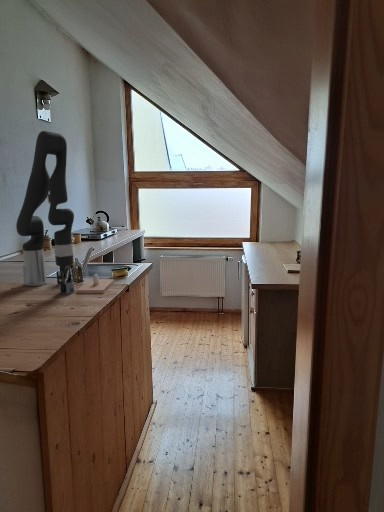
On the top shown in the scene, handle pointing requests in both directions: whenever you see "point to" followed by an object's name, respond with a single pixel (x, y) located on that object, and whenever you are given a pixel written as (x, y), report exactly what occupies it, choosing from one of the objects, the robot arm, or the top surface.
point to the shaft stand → (95, 285)
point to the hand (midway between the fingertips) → (66, 290)
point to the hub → (68, 287)
